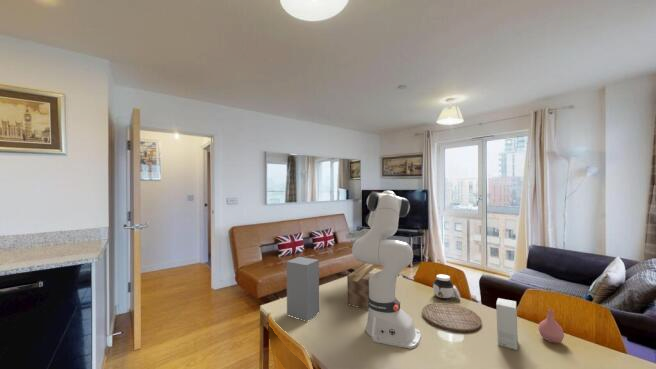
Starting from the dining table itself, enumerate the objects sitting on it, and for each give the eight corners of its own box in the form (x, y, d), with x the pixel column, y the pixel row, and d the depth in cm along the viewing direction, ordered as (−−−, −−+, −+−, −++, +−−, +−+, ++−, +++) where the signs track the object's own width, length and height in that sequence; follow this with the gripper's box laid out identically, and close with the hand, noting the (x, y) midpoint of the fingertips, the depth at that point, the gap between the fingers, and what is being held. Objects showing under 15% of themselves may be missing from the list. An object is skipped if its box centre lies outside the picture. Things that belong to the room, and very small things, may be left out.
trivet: (491, 336, 106) (491, 332, 106) (426, 330, 111) (426, 326, 111) (470, 308, 131) (470, 304, 131) (418, 304, 136) (418, 301, 136)
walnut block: (376, 302, 138) (375, 274, 138) (369, 309, 130) (368, 279, 130) (355, 297, 144) (355, 270, 145) (347, 304, 136) (347, 275, 136)
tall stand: (319, 313, 127) (318, 259, 127) (307, 322, 118) (306, 265, 119) (299, 307, 133) (299, 256, 133) (287, 315, 125) (286, 261, 125)
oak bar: (373, 269, 146) (373, 264, 146) (356, 281, 127) (356, 275, 127) (366, 268, 148) (366, 263, 148) (349, 280, 129) (349, 274, 129)
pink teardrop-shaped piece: (555, 348, 98) (554, 316, 98) (533, 337, 105) (533, 307, 105) (569, 344, 100) (568, 313, 100) (547, 333, 107) (547, 304, 107)
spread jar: (431, 295, 146) (430, 274, 147) (445, 291, 151) (445, 271, 151) (449, 303, 136) (448, 281, 136) (463, 299, 140) (463, 278, 141)
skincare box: (517, 351, 96) (516, 309, 96) (496, 344, 100) (495, 304, 100) (517, 340, 103) (517, 301, 103) (498, 334, 107) (497, 296, 107)
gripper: (351, 233, 173) (340, 229, 162) (380, 228, 163) (371, 224, 152) (351, 242, 170) (341, 240, 159) (381, 239, 160) (372, 235, 149)
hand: (356, 232), depth 155 cm, fingers open, 8 cm apart
